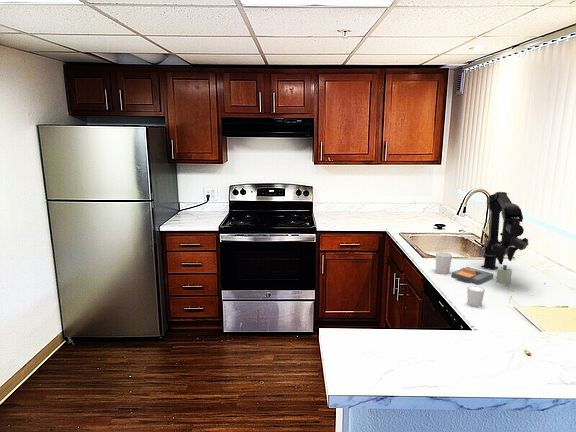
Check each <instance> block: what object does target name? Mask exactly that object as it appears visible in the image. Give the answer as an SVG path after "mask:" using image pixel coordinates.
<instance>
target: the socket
mask: <svg viewBox="0 0 576 432" xmlns="http://www.w3.org/2000/svg"><path fill="white" fill-rule="evenodd" d="M464 268H468V269H471V270H475V271H476V276H474V277H471V278H467V277H463V276H460V275H457V274H456V273H458V272H461V271H462V270H463V268H460V269H457V270H454V271H452V272H451V276H450V277H451V278H453V279H457V280H460V281H463V282H467V283H470V284H474V285H475V286H479V285H482V284H484V283H486V282H489V281H491V280H494V273H491V272H489V271H484V270H480V269H476V268H474V267H470V266H466V267H464Z"/></svg>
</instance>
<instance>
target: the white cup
mask: <svg viewBox="0 0 576 432" xmlns="http://www.w3.org/2000/svg"><path fill="white" fill-rule="evenodd" d="M452 256H453V254H452V253H449V252H444V251H438V252H435V272H436V273H438V274H440V275H449V274H450V269H451V263H452Z"/></svg>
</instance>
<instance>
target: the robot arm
mask: <svg viewBox="0 0 576 432" xmlns="http://www.w3.org/2000/svg"><path fill="white" fill-rule="evenodd" d="M486 205H487V209H488V210H489V212H490V214H489V227H488V229H489V231H488V239H487V240H486V241H485V243H484V246H483V248H482V250H481V256H482V257H483V258H484V261H483V265H482V264H481V266H480V267H481V268H484V269H487V270H495V269H496V270H497V269H499V266H497V265H496V264H497V261H498V264H499V265H502V266H503V262H504V259H505V255H506V254H507V260H508V261H509V262H511V261H512V260H513V257H514V255H515V253H516V251H518V250H520V251H523V250H526V248H527V246H529V238H527V237H523V238H520V236H522V235H523V234H524V231H525V230H524V226H523V225H521V223H523V219H524V216H523V212H522V208H520V206H519V205H517V204H515V203H513V202H512V200H511V199H510V197H509V196H508V193H507V192H505V191H497V192H495V193H493V194H490V195H488V197H487V198H486ZM500 217H502V221H503V222H502V231H501V232H500V233H499V231H500ZM499 236H501V240H499Z"/></svg>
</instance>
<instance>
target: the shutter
mask: <svg viewBox="0 0 576 432" xmlns="http://www.w3.org/2000/svg"><path fill="white" fill-rule="evenodd" d="M462 269H463V270H462V271H461V272H458V273H456V274H457V275H460V276H463V277H467V278H471V277H474V276H476V271H475V270H471V269H468V268H465V267H462Z"/></svg>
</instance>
